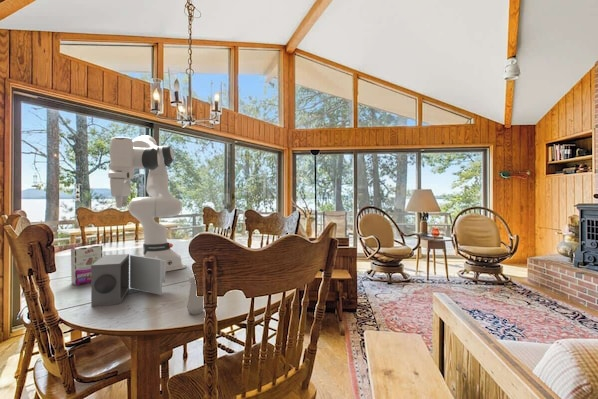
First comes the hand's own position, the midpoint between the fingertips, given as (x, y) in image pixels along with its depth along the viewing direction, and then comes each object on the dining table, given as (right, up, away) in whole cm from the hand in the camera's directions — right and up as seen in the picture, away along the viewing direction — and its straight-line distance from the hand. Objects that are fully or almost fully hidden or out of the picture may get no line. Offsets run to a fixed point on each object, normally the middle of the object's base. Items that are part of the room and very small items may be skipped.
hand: (121, 207), depth 126 cm
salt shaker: (+39, -36, -23) cm, 58 cm away
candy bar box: (-22, -35, +10) cm, 42 cm away
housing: (+1, -35, -9) cm, 36 cm away
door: (+12, -35, 0) cm, 37 cm away
